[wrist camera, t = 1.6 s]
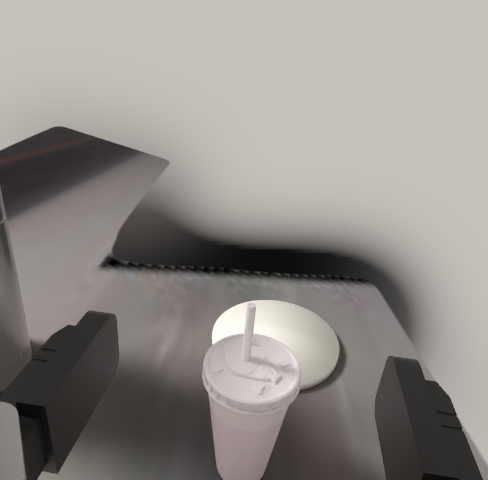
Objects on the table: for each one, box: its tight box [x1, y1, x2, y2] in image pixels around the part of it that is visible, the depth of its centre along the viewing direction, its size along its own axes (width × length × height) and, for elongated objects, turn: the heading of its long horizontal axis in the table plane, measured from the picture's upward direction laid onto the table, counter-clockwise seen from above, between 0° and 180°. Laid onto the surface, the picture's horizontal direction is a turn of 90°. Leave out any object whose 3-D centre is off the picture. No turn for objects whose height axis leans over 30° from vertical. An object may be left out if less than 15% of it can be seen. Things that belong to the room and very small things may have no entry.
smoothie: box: [202, 302, 301, 480], centre depth 28 cm, size 6×6×14 cm
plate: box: [212, 300, 339, 390], centre depth 43 cm, size 13×13×1 cm
